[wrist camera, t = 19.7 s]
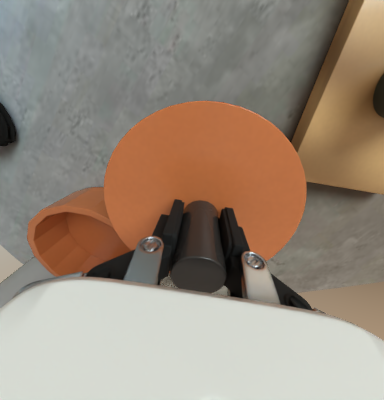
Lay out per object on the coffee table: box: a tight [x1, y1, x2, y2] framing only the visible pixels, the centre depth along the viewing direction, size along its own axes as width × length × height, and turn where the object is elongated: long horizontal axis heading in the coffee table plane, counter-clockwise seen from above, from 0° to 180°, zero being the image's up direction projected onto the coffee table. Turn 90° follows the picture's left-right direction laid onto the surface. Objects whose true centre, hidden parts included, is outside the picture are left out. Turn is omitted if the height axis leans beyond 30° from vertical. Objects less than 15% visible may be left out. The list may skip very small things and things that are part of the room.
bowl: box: [27, 187, 131, 277], centre depth 22 cm, size 15×15×6 cm
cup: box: [0, 256, 56, 308], centre depth 24 cm, size 8×8×10 cm
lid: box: [104, 101, 306, 293], centre depth 11 cm, size 16×16×7 cm
